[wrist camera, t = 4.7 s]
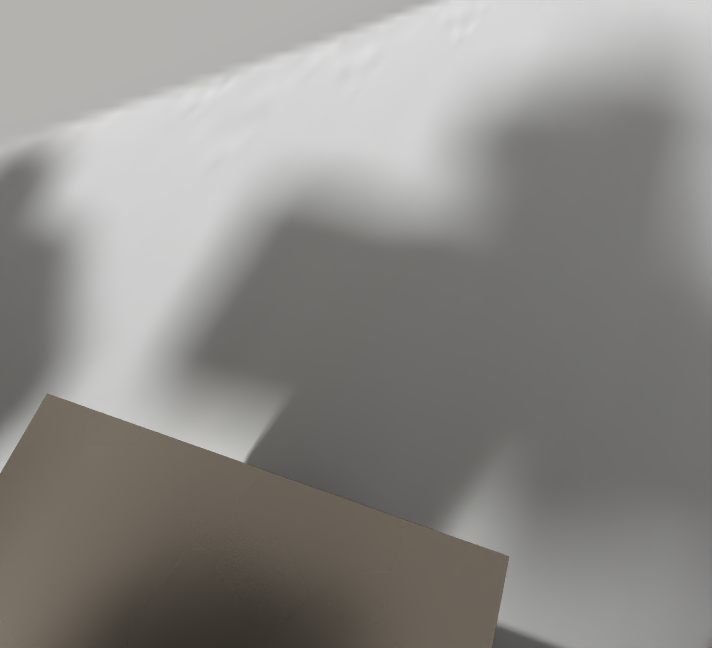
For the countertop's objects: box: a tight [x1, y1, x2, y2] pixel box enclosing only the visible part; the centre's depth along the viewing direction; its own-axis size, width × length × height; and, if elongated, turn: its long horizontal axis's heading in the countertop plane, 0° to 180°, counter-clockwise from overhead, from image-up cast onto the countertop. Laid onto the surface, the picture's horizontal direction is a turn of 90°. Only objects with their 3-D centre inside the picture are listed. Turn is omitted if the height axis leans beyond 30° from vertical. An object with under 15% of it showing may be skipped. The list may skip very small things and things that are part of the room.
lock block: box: [0, 394, 509, 648], centre depth 9 cm, size 5×5×10 cm
